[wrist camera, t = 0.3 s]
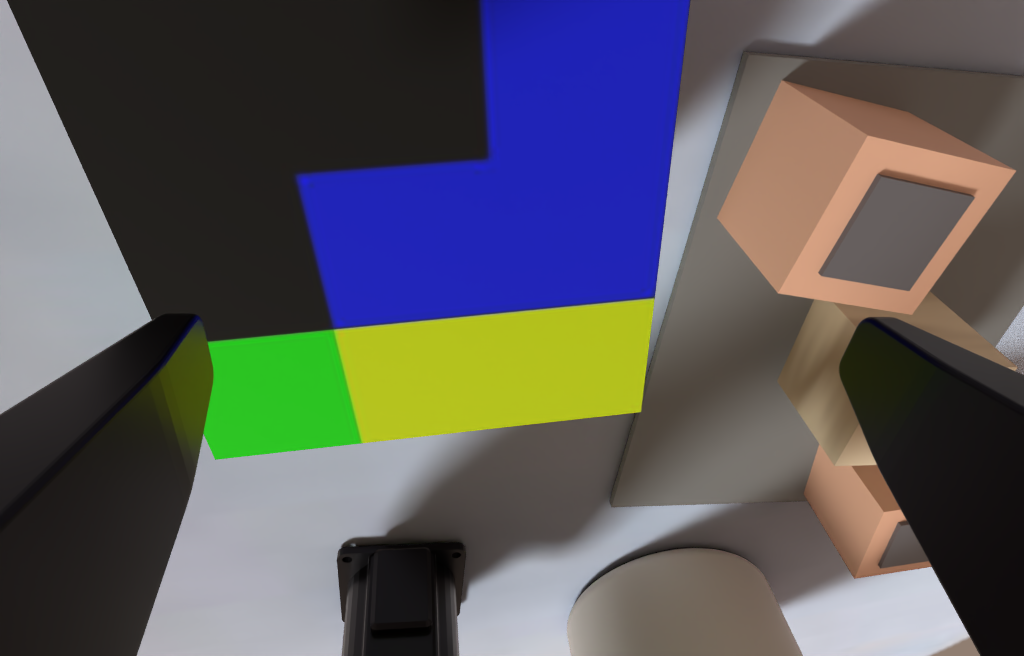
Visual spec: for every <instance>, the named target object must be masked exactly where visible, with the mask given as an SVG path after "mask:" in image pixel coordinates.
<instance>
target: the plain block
mask: <svg viewBox="0 0 1024 656" xmlns="http://www.w3.org/2000/svg"><path fill="white" fill-rule="evenodd" d="M867 317H894V318H897V319H900V320H902V321H904V322H906V323H909V324H911V325H913V326H915V327H917V328H920V329H922V330H924V331H926V332H929V333H931V334H933V335H935V336H938V337H940V338H942V339H944V340H946V341H949V342H951V343H953V344H955V345H958V346H960V347H962V348H964V349H967V350H969V351H971V352H973V353H976V354H978V355H980V356H982V357H984V358H987V359H989V360H991V361H993V362H996V363H998V364H1000V365H1002V366H1005V367H1007V368H1009V369H1011V370H1013V371H1016V369H1017V368H1018V367H1017V366H1016V365H1014V364H1013V363H1012V362H1011V361H1010V360H1009V359H1007V358H1006V357H1005V356H1004V355H1003V354H1002V353H1001V352H999V351H998V350H997V349H996V348H995V347H994V346H992V345H991V344H990V343H989V342H988V341H987V340H986V339H984V338H983V337H982V336H981V335H980V334H979V333H977V332H976V331H975V330H974V329H973V328H972V327H971V326H969V325H968V324H967V323H966V322H965V321H964V320H962V319H961V318H960V317H959V316H958V315H957V314H956V313H954V312H953V311H952V310H951V309H950V308H949V307H947V306H946V305H945V304H944V303H943V302H942V301H941V300H939V299H938V298H937V297H936V296H935V295H934V294H932V293H931V292H930V291H929V292H928V293H927V295H926V296H925V298H924V299H923V300H922V302H921V303H920V304H919V306H918V307H917V309H916V310H915V311H914V313H913V314H912V315H910V314H904V313H898V312H891V311H885V310H879V309H873V308H866V307H860V306H854V305H848V304H841V303H835V302H829V301H823V300H816V299H814V301H813V303H812V305H811V308H810V310H809V312H808V314H807V316H806V319H805V321H804V323H803V325H802V327H801V330H800V332H799V334H798V336H797V338H796V341H795V343H794V345H793V347H792V349H791V352H790V354H789V356H788V358H787V360H786V363H785V365H784V367H783V369H782V371H781V374H780V376H779V378H778V380H777V382H778V383H779V385H780V386H781V388H782V389H783V391H784V392H785V394H786V395H787V397H788V398H789V400H790V401H791V403H792V404H793V406H794V407H795V409H796V410H797V411H798V413H799V414H800V416H801V417H802V419H803V420H804V422H805V423H806V425H807V426H808V428H809V429H810V431H811V432H812V434H813V435H814V437H815V438H816V440H817V441H818V443H819V444H820V445H821V447H822V448H823V450H824V451H825V453H826V454H827V456H828V457H829V459H830V460H831V462H832V463H833V465H834V466H860V465H877V464H876V462H875V460H874V457H873V455H872V453H871V451H870V448H869V446H868V444H867V441H866V439H865V436H864V434H863V432H862V429H861V427H860V425H859V422H858V420H857V417H856V415H855V413H854V410H853V408H852V406H851V403H850V401H849V398H848V396H847V394H846V391H845V389H844V387H843V384H842V382H841V379H840V376H839V364H840V360H841V358H842V356H843V354H844V352H845V350H846V348H847V346H848V344H849V342H850V339H851V337H852V335H853V333H854V331H855V329H856V327H857V325H858V324H859V323H860V322H861V321H862V320H863V319H865V318H867Z"/></svg>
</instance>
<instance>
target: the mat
mask: <svg viewBox="0 0 1024 656" xmlns="http://www.w3.org/2000/svg"><path fill="white" fill-rule="evenodd" d="M781 80H783V81H787V82H791V83H795V84H799V85H803V86H807V87H811V88H815V89H819V90H823V91H827V92H831V93H835V94H839V95H843V96H847V97H851V98H855V99H859V100H862V101H866V102H870V103H874V104H878V105H882V106H886V107H890V108H894V109H898V110H902V111H906V112H909V113H911V114H913V115H915V116H916V117H918V118H920V119H922V120H924V121H926V122H928V123H929V124H931V125H933V126H935V127H937V128H939V129H940V130H942V131H944V132H946V133H948V134H950V135H951V136H953V137H955V138H957V139H959V140H961V141H963V142H964V143H966V144H968V145H970V146H972V147H974V148H975V149H977V150H979V151H981V152H983V153H985V154H987V155H988V156H990V157H992V158H994V159H996V160H998V161H999V162H1001V163H1003V164H1005V165H1007V166H1009V167H1010V168H1012V169H1014V170H1016V172H1015V173H1014V175H1013V176H1012V178H1011V179H1010V180H1009V182H1008V183H1007V184H1006V186H1005V187H1004V189H1003V190H1002V191H1001V193H1000V194H999V195H998V197H997V198H996V200H995V201H994V202H993V204H992V205H991V207H990V208H989V209H988V211H987V212H986V213H985V215H984V216H983V218H982V219H981V220H980V222H979V223H978V224H977V226H976V227H975V229H974V230H973V231H972V233H971V234H970V236H969V237H968V238H967V240H966V241H965V242H964V244H963V245H962V247H961V248H960V249H959V251H958V252H957V253H956V255H955V256H954V258H953V259H952V260H951V262H950V263H949V264H948V266H947V267H946V269H945V270H944V271H943V273H942V274H941V276H940V277H939V278H938V280H937V281H936V282H935V284H934V285H933V287H932V288H931V289H930V292H931V293H932V294H934V295H935V296H936V297H937V298H938V299H939V300H941V301H942V302H943V303H944V304H945V305H946V306H947V307H949V308H950V309H951V310H952V311H953V312H954V313H956V314H957V315H958V316H959V317H960V318H961V319H962V320H964V321H965V322H966V323H967V324H968V325H969V326H971V327H972V328H973V329H974V330H975V331H976V332H977V333H979V334H980V335H981V336H982V337H983V338H984V339H986V340H987V341H988V342H989V343H990V344H991V345H992V346H994V347H995V346H996V345H997V344H998V342H999V341H1000V339H1001V338H1002V336H1003V335H1004V333H1005V332H1006V330H1007V329H1008V327H1009V326H1010V325H1011V323H1012V322H1013V320H1014V319H1015V317H1016V316H1017V314H1018V313H1019V311H1020V310H1021V309H1022V307H1023V306H1024V76H1016V75H1005V74H994V73H982V72H971V71H960V70H948V69H937V68H926V67H914V66H903V65H892V64H881V63H869V62H858V61H847V60H835V59H824V58H813V57H801V56H790V55H779V54H767V53H756V52H745V51H744V52H743V55H742V59H741V62H740V65H739V69H738V72H737V75H736V79H735V82H734V86H733V89H732V92H731V96H730V99H729V102H728V106H727V109H726V112H725V116H724V119H723V122H722V126H721V129H720V132H719V136H718V139H717V142H716V146H715V149H714V153H713V156H712V159H711V163H710V166H709V169H708V173H707V176H706V179H705V183H704V186H703V189H702V193H701V196H700V199H699V203H698V206H697V210H696V213H695V216H694V220H693V223H692V226H691V230H690V233H689V236H688V240H687V243H686V246H685V250H684V253H683V256H682V260H681V263H680V267H679V270H678V273H677V277H676V280H675V283H674V287H673V290H672V293H671V297H670V300H669V303H668V307H667V310H666V313H665V317H664V320H663V324H662V327H661V330H660V334H659V337H658V340H657V344H656V347H655V350H654V354H653V357H652V360H651V364H650V367H649V370H648V374H647V377H646V381H645V384H644V391H643V399H642V408H641V412H638V413H636V414H635V417H634V421H633V424H632V427H631V431H630V434H629V437H628V441H627V444H626V448H625V451H624V454H623V458H622V461H621V464H620V468H619V471H618V474H617V478H616V481H615V484H614V488H613V491H612V494H611V498H610V504H611V507H632V506H664V505H696V504H728V503H760V502H791V501H807V499H806V497H805V496H804V491H805V487H806V484H807V481H808V478H809V475H810V472H811V469H812V465H813V462H814V459H815V456H816V453H817V450H818V446H819V443H818V441H817V440H816V438H815V437H814V435H813V434H812V432H811V431H810V429H809V428H808V426H807V425H806V423H805V422H804V420H803V419H802V417H801V416H800V414H799V413H798V411H797V410H796V409H795V407H794V406H793V404H792V403H791V401H790V400H789V398H788V397H787V395H786V394H785V392H784V391H783V389H782V388H781V386H780V385H779V383H778V382H777V380H778V378H779V376H780V374H781V371H782V369H783V367H784V365H785V363H786V360H787V358H788V356H789V354H790V352H791V349H792V347H793V345H794V343H795V341H796V338H797V336H798V334H799V332H800V330H801V327H802V325H803V323H804V321H805V319H806V316H807V314H808V312H809V310H810V308H811V305H812V303H813V301H814V299H810V298H804V297H798V296H792V295H785V294H779V293H777V291H776V290H775V289H774V288H773V287H772V285H771V284H770V283H769V282H768V280H767V279H766V278H765V277H764V275H763V274H762V273H761V272H760V270H759V269H758V268H757V267H756V266H755V264H754V263H753V262H752V261H751V259H750V258H749V257H748V256H747V254H746V253H745V252H744V251H743V250H742V248H741V247H740V246H739V245H738V243H737V242H736V241H735V240H734V238H733V237H732V236H731V235H730V233H729V232H728V231H727V230H726V229H725V227H724V226H723V225H722V224H721V222H720V221H719V220H718V219H717V217H718V215H719V212H720V210H721V208H722V206H723V204H724V202H725V200H726V198H727V195H728V193H729V191H730V189H731V187H732V185H733V183H734V181H735V178H736V176H737V174H738V172H739V170H740V168H741V166H742V163H743V161H744V159H745V157H746V155H747V153H748V151H749V149H750V146H751V144H752V142H753V140H754V138H755V136H756V134H757V132H758V129H759V127H760V125H761V123H762V121H763V119H764V117H765V115H766V112H767V110H768V108H769V106H770V104H771V102H772V100H773V97H774V95H775V93H776V91H777V89H778V87H779V85H780V83H781Z"/></svg>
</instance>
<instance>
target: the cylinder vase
mask: <svg viewBox="0 0 1024 656" xmlns="http://www.w3.org/2000/svg"><path fill="white" fill-rule="evenodd" d="M567 636H568V642H569V647H570V652H571V656H803V655H802V653H801V651H800V649H799V646H798V644H797V642H796V640H795V638H794V636H793V634H792V632H791V630H790V628H789V626H788V624H787V621H786V619H785V617H784V615H783V613H782V611H781V609H780V607H779V605H778V603H777V601H776V599H775V596H774V594H773V592H772V590H771V588H770V586H769V584H768V582H767V580H766V578H765V577H764V575H763V574H762V572H761V571H760V570H759V569H758V568H757V567H756V566H755V565H753V564H752V563H751V562H749V561H748V560H746V559H744V558H742V557H740V556H738V555H735V554H733V553H729V552H726V551H721V550H716V549H707V548H685V549H675V550H669V551H663V552H659V553H654V554H651V555H647V556H644V557H641V558H638V559H635V560H633V561H630V562H628V563H625V564H623V565H621V566H619V567H617V568H615V569H613V570H612V571H610V572H608V573H607V574H605V575H603V576H602V577H600V578H599V579H598V580H596V581H595V582H594V583H593V584H591V585H590V586H589V587H588V588H587V589H586V590H585V591H584V592H583V593H582V594H581V596H580V597H579V598H578V600H577V601H576V603H575V604H574V606H573V608H572V610H571V612H570V615H569V618H568V623H567Z"/></svg>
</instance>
